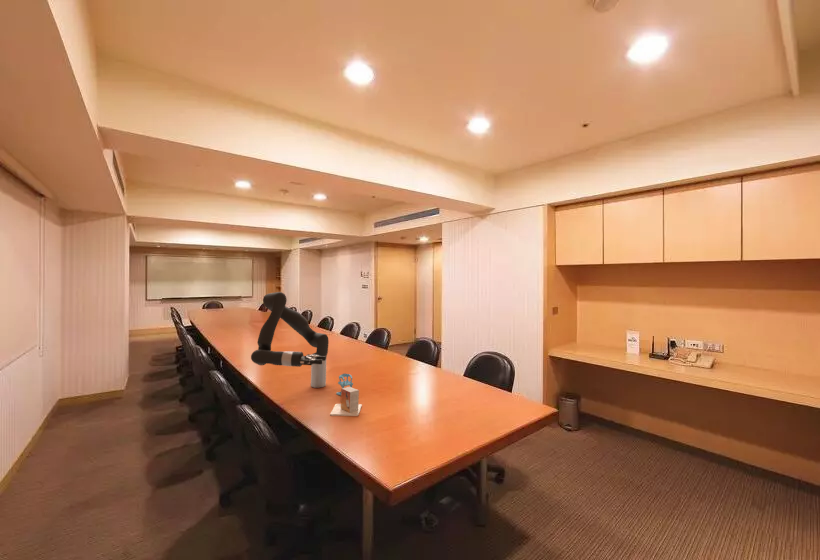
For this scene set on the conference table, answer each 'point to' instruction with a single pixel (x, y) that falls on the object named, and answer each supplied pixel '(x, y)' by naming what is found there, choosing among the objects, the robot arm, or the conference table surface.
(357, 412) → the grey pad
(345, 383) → the chair
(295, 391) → the conference table surface
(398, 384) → the conference table surface
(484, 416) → the conference table surface
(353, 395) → the small box
